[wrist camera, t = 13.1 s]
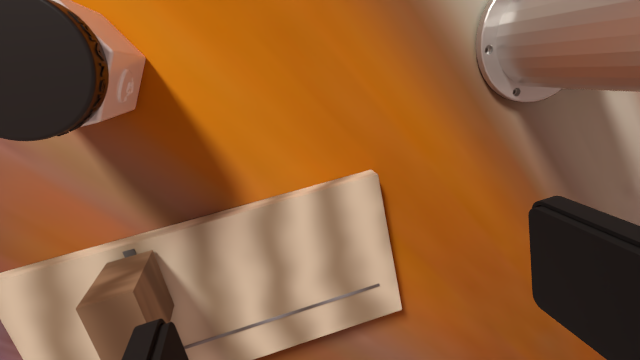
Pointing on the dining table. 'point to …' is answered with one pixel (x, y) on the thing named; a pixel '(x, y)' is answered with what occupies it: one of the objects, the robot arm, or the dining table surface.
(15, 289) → the board
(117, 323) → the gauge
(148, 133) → the dining table surface
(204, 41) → the dining table surface
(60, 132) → the jar
